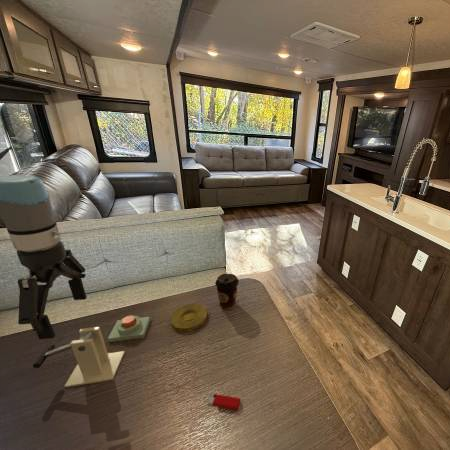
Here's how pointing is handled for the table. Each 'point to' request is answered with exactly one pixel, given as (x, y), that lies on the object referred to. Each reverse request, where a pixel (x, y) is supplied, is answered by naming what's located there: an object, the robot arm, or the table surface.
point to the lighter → (224, 402)
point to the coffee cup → (227, 290)
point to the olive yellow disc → (188, 317)
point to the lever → (59, 349)
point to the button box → (129, 330)
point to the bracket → (93, 360)
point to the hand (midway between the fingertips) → (65, 316)
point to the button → (128, 321)
